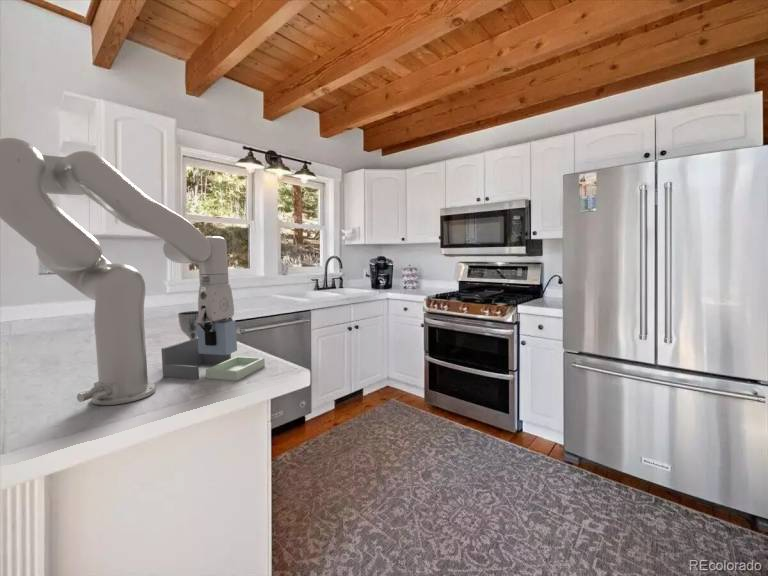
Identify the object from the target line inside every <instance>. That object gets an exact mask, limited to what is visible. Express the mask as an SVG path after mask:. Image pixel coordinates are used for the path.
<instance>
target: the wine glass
mask: <svg viewBox="0 0 768 576" xmlns="http://www.w3.org/2000/svg"><path fill="white" fill-rule="evenodd" d="M177 316H178V317H177V318H178V323H179V327H180V331H182V333H183V334H185V336H187V337H188V339H189V340H192V339H196V338H198V335H197V323H196V321H197V319H198V317H199V313H198V310H192V311H184V312H183V311H182V312H178V313H177Z"/></svg>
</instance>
